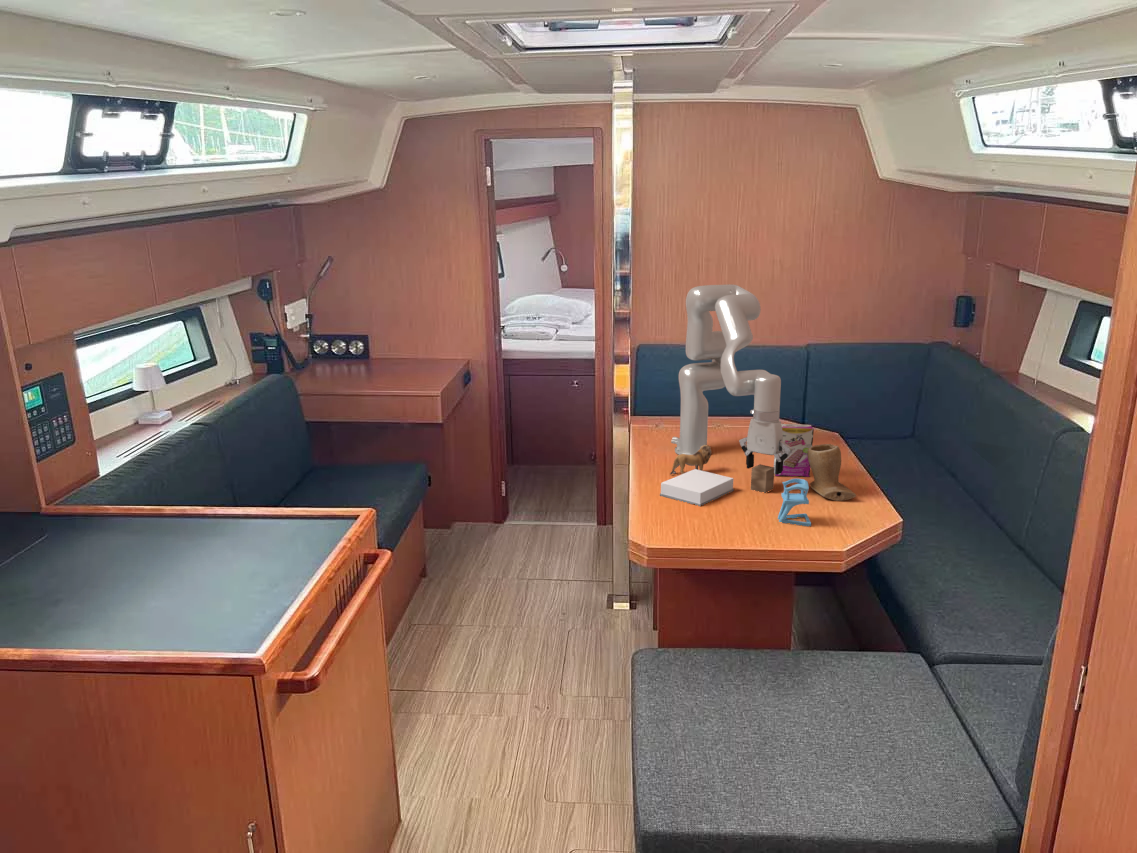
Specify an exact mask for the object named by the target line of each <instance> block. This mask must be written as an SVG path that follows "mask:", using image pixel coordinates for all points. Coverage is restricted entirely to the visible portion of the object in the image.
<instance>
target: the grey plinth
mask: <svg viewBox="0 0 1137 853" xmlns="http://www.w3.org/2000/svg"><path fill="white" fill-rule="evenodd" d="M733 491H734V492H735V489H734V477H730V476H725V475H721V474H718V473H717V474H716V473H714V472H709V471H705V470H702V471H701V470H700V469H698V470H697V469H695V468H694V469H692V470H689V471H686V472H684V474H682V473H681V474H680V475H677V476H675V477H673V478H670V479H667V480H664V481H662V482H661V483H660V493H659V496H660V497H664V498H667V499H671V500H674V499H675V501H678V500H679V502H682V501H683V502H682V503H685V502H687V503H686V504H689V503H690V505H693V504H695V505H694V506H697V505H698V506H697V507H702V506H704V504H705V505H707V504H708V502H709V503H710V501H711V502H713V501H715V500H717V499H720V498H721V496H722V497H723V495H724V496H725V494H726V495H728V494H730V493H733ZM729 492H730V493H729ZM727 493H728V494H727ZM712 500H713V501H712ZM706 503H707V504H706ZM701 505H702V506H701Z"/></svg>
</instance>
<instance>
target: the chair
mask: <svg viewBox="0 0 1137 853" xmlns="http://www.w3.org/2000/svg"><path fill="white" fill-rule="evenodd" d="M781 483H782V485H783V492H781V498H782V504H781V507H780V510H779V513H778V514H777V520H778V523H779V522H782V523H781V524H787V523H790V524H789V525H794V524H796V525H795V526H801V525H802V527H803V526H804V527H809V526H810V527H812V522H811V520H810V518H809V516H808V514H807V513H793V514H789V513H790V512H791V510H792V508H794V507H796V506H799V505H809V504H810V500H809V499H808V496H807V495H808V492H809V488H810V485H809V481H808V480H805V479H802V478H790V479H789V480H786V481H782V482H781ZM793 483H795V484H793ZM789 484H792V485H791V486H789V487H787V485H789ZM793 490H800V493H799V492H797V493H793V492H792V493H790V491H793ZM797 517H801V518H805V521H800V520H793V519H798V518H797ZM787 518H792V519H787Z"/></svg>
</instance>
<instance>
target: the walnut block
mask: <svg viewBox="0 0 1137 853" xmlns="http://www.w3.org/2000/svg"><path fill="white" fill-rule="evenodd" d="M774 470H775V467H774V466H769V465H765V464H761V463H760V464H758V465H754V466H753V467H751V475H750V476H751V477H750V491H754V490H755V491H754V492H758V491H759V492H758V493H762V492H764V493H763V494H767V493H769V492H771V491H772V489H773V490H774V486H775V485H774V484H775V483H774V482H775V474H774ZM770 490H771V491H770ZM768 491H769V492H768ZM766 492H767V493H766Z"/></svg>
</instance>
